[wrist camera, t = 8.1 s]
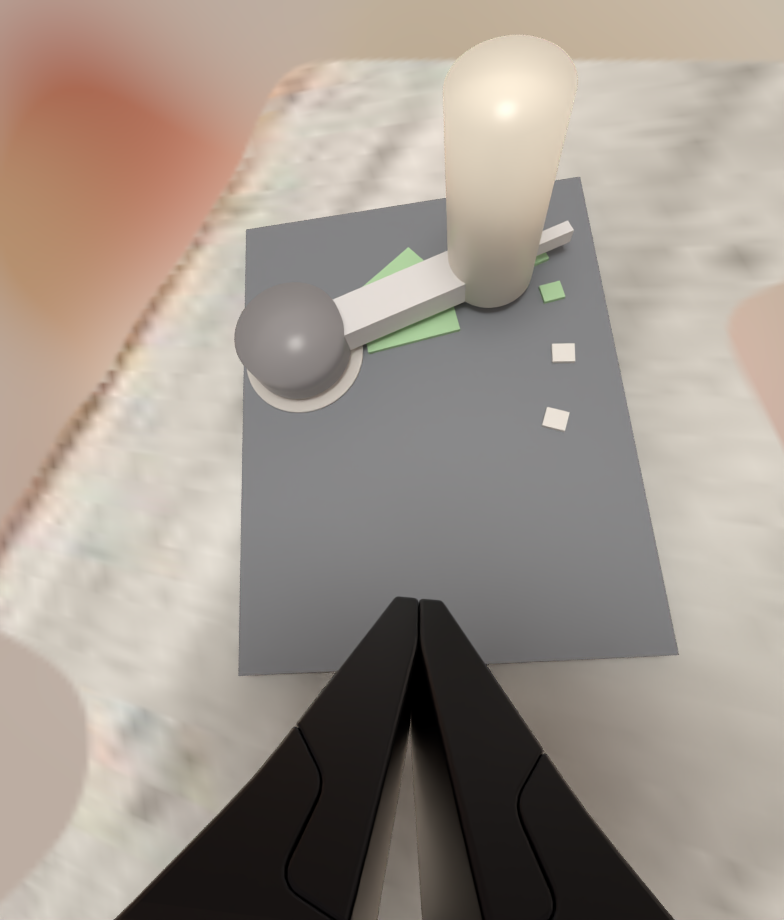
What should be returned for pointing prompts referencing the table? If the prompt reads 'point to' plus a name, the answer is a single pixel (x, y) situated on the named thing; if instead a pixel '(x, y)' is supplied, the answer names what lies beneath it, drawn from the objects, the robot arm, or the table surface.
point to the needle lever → (468, 222)
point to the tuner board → (448, 463)
